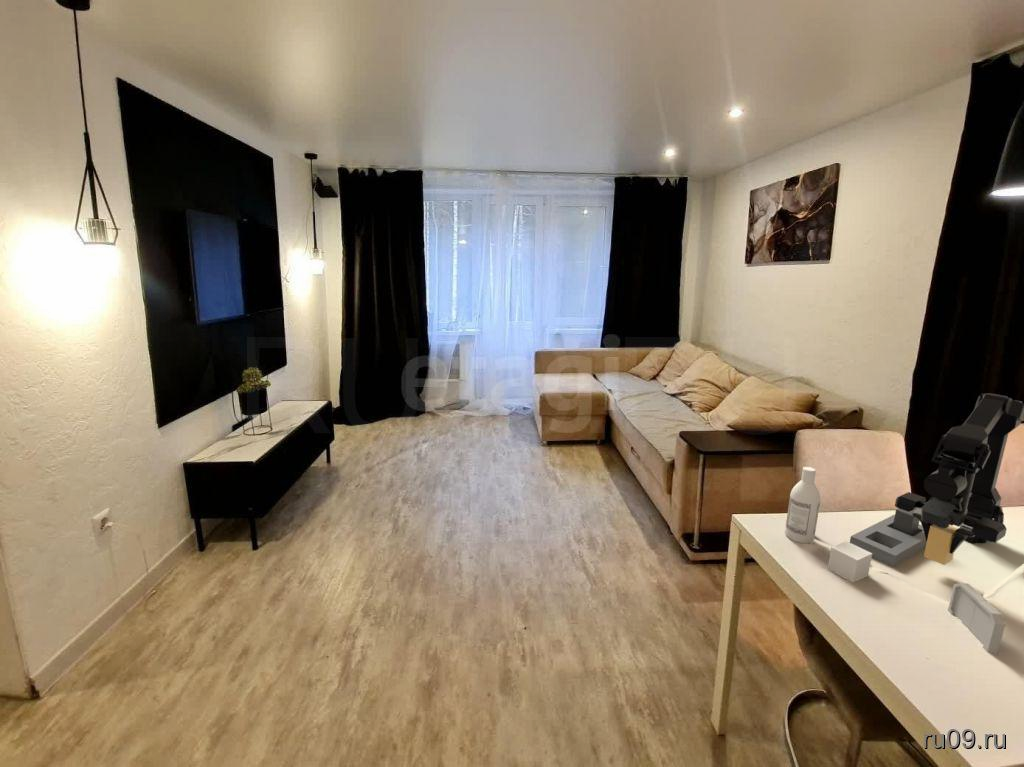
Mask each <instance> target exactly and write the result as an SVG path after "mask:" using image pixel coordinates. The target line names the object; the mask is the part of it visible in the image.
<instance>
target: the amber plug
mask: <svg viewBox="0 0 1024 767" xmlns="http://www.w3.org/2000/svg"><path fill="white" fill-rule="evenodd" d="M957 529H958V528H957V527H954V526H953V525H949V526H948V527H947V528H940V527H938V526H936V525H934V524H933V525H931V526H930V530H929V534H928V539H927V543H926V548H924V551H923V552H924V553H923V557H925V558H927V559H929V560H931V561H933V562H935V563H939V564H941V565H943V566H946V565H947V564H949V563H950V562H951V561H953V560H954V559H953V558H954V555H955V552H954V553H952V554H951V553H950V548H951V545H952V542H953V540H954V537H955V530H957Z"/></svg>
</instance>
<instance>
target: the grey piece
mask: <svg viewBox="0 0 1024 767" xmlns="http://www.w3.org/2000/svg"><path fill="white" fill-rule="evenodd" d="M894 517H895V514H891V515H890V516H889V517H887V518H885V519H882V520H880V521H879V522H877V523H874V524H872V525H870V526H868V527H867V528H864V529H863V530H860V531H859V532H856V533H855V534H852V535H851V536H850V539H849V543H851V544H853V545H855V546H858V547H860V548H862V549H864V550H866V551H868V552H870V553H872V558H873V559H875V560H876V561H877V560H878V561H879V562H882V563H884V564H886V565H888V566H891V567H895V566H897V565H899V564H900V563H902V562H904V561H905V560H907V559H910V557H912V556H914V555H916V554H917V553H919V552H920V551H922V550H925V548H926V543H927V542H926V538H925V534H924V530H923V527H922V524H921V523H919V525H918V530H917V535H915V536H910V535H908V534H905V533H903V532H900V531H898V530H895V529H893V528H892V527H893V522H894Z"/></svg>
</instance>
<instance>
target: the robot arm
mask: <svg viewBox="0 0 1024 767" xmlns="http://www.w3.org/2000/svg"><path fill="white" fill-rule="evenodd" d="M1022 422H1024V403H1023V401H1021V400H1016V399H1015V400H1014V399H1012V398H1011V397H1008V396H1006V395H1001V394H996V393H990V392H989V393H986V392H985V393H981V395H979V396H978V398H977V400H976V403H975V406H974V409H973V411H972V412H971V413H970V415H969V416H968V417H967V419H966V420H965V421H964V423H963V424H962V425H958V426H952V427H951V428H950V429H949V430H948V431H947V432H946V433H945V434H942V436H941V438H940V439H939V442H938V444H937V446H936V449H935V451H934V453H933V456H932V457H931V461H930V462H931V463H935V464H938V467H937V469H936V471H933V472H932V473H931V474H929V475H928V476H926V477H925V479H924V480H923V487H924V489H925V491H926V493H927V494H928V495H930V496H931V497H930V498H929V500H928V501H927V498H926V497H925V496H922V495H918V494H916V493H912V492H910V491H908V492H905V493H903V494H901V495H898V496H897V497H896V499H895V504H894V507H895V508H896V509H898V508H899V509H902V510H905V511H908V512H909V511H912V510H915V512H914V513H913V516H914V517H916V518H917V519H918V520H919V523H920V525H922V527H923V530H924V534H925V538H926V542H927V539H928V534H929V530H930V526H931V525H933V524H934V525H936V526H938V527H940V528H947V527H948V526H956V527H958V528H957V530H955V537H954V540H953V542H952V545H951V548H950V553H951V554H952V553H954V554H955V552H956V550H957V549H958V548H959V547H960V546H961V545H962V544H963V542H964V541H965V542H967V543H970V544H972V545H973V544H986V543H988V542H989V543H990V542H991V543H997V542H998V541H999V540H1001V539H1003V538H1004V537H1005V536H1006V533H1007V527H1006V525H1005V524H1004V520H1005V513H1004V511H1003V507H1002V506H1001V504H1002V503H1001V501H1002V497H1001V495H1000V492H999V491H998V489H997V488H996V487H997V486H996V485H997V481H998V476H999V474H1000V473H999V472H1000V468H1001V465H1002V461H1003V458H1004V457H1003V456H1004V455H1005V454H1004V453H1005V449H1006V444H1007V441H1008V438H1009V433H1011V432H1013V431H1014V430H1016V428H1018V427H1019V426H1020V425H1021V423H1022Z"/></svg>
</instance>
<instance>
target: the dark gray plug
mask: <svg viewBox="0 0 1024 767" xmlns="http://www.w3.org/2000/svg"><path fill="white" fill-rule="evenodd" d="M914 512H915V509H914V510H912V511H909V512H908V511H905V510H902V509H899V508H896V509H895V513H894V515H895V517H894V522H893V527H892V528H893V529H895V530H898V531H900V532H903V533H905V534H908V535H910V536H915V535H917V530H918V525H919V524H920V521H919V520H918V519H917V518H916V517H914V516H913V513H914Z"/></svg>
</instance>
